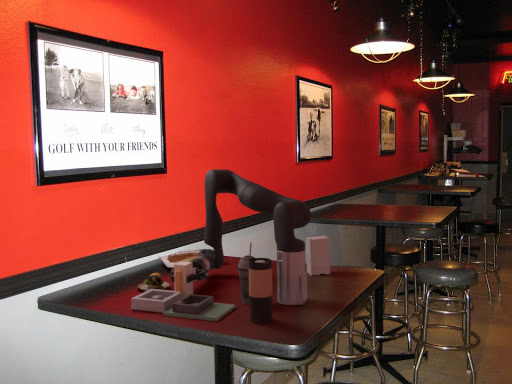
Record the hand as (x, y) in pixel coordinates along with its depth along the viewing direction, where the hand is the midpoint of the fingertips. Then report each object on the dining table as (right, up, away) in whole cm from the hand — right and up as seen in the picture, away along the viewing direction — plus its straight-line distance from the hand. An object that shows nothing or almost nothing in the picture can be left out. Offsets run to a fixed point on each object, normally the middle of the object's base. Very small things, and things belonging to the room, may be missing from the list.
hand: (180, 279), depth 179 cm
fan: (-4, -7, -3) cm, 9 cm away
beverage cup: (+23, -7, -3) cm, 24 cm away
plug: (+1, -7, +3) cm, 7 cm away
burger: (-12, -6, +15) cm, 20 cm away
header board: (+8, -8, -12) cm, 17 cm away
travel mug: (+27, -9, -22) cm, 35 cm away
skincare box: (+50, -4, +35) cm, 61 cm away
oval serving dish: (-3, -3, +55) cm, 55 cm away
